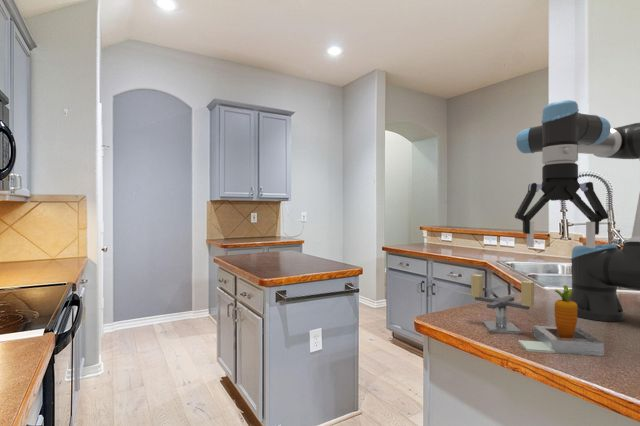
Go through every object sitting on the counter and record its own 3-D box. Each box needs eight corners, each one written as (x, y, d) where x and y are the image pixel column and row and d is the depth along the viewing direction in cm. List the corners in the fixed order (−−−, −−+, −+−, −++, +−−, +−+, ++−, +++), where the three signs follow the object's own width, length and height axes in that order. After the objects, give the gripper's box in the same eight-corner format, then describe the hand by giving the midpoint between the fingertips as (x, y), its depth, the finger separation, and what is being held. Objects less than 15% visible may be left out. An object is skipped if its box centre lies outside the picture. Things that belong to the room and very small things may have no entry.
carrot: (571, 350, 85) (571, 289, 85) (549, 344, 90) (549, 285, 90) (582, 347, 88) (582, 287, 88) (561, 340, 92) (561, 283, 92)
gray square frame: (579, 339, 93) (579, 328, 93) (603, 356, 82) (603, 343, 82) (533, 336, 95) (533, 325, 95) (551, 352, 84) (551, 339, 84)
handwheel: (461, 303, 103) (461, 277, 103) (483, 295, 113) (483, 272, 113) (522, 315, 91) (522, 286, 91) (541, 305, 100) (541, 279, 100)
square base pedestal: (511, 325, 105) (511, 301, 105) (521, 334, 97) (521, 308, 97) (482, 323, 107) (482, 300, 107) (489, 332, 99) (489, 307, 99)
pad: (543, 344, 90) (543, 341, 90) (554, 353, 84) (554, 350, 84) (518, 342, 91) (518, 340, 91) (527, 351, 85) (527, 348, 85)
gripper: (510, 163, 89) (510, 247, 89) (626, 160, 83) (626, 249, 83) (502, 167, 96) (502, 245, 96) (608, 164, 90) (608, 246, 90)
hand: (559, 247), depth 90 cm, fingers open, 13 cm apart
